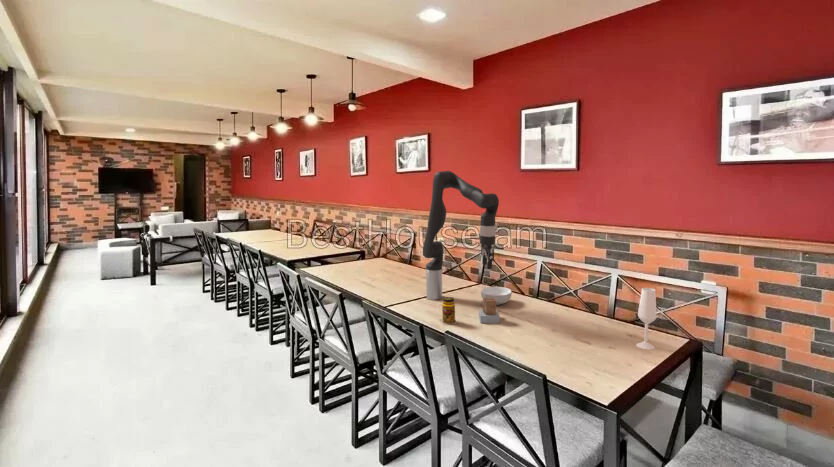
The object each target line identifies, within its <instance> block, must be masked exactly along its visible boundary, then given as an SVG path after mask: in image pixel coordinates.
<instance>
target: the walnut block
mask: <svg viewBox="0 0 834 467" xmlns="http://www.w3.org/2000/svg"><path fill="white" fill-rule="evenodd" d="M482 310H483V313H484V314H485V315H495V314H496V310H497V305H496V300H495V299H494V298H482Z"/></svg>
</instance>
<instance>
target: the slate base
mask: <svg viewBox="0 0 834 467" xmlns="http://www.w3.org/2000/svg"><path fill="white" fill-rule="evenodd" d="M478 318H479V322H480V324H500V314H499V311H498V309H496V314H495V315H485V314H484V313H483V309H479V310H478Z"/></svg>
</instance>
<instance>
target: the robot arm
mask: <svg viewBox="0 0 834 467" xmlns="http://www.w3.org/2000/svg"><path fill="white" fill-rule="evenodd" d="M450 188H452V189H456V190H458V191H459V192H460V194H461V196H463V197H464V198H466V199H467V200H469V201H471V202H473V203H474V204H475V205H476V206H477V207H479V208H481V209H485V211H484V212H482V213H481V215H480V225H479V226H480V227H479V244H480V246H481V247H480V255H481V258H482V260H481V261H482V265H483V266H487V267H486V268H487V269H488V270H492V269H493V262H494V261H495V248H492V246H493V245H496V215H497V212H498V207H499V206H500V205H499V204H500V202H499V197H498V195H497V194H496V193H491V192H490V193H484V192H483V190H482V189H481V188H479V187H477V186H475V185H472V184H471V183H469V182H467V181H465V180H464V179H462V178H461V177H460V176H458V175H456V173H454V172H453V171H451V170H444V171H443V170H442V171H437V172H435V174H434V175H433V180H432V194H431V202H430V208H429V209H430V210H429V214H428V220H427V222H428V223H427V229H426V233H425V236H424V237H425V238H424V242H423V245H422V255H423V257H424V258H425V259H432V260H430V262H428V263H426V265H425V274H426V275H425V277H426V278H425V279H426V281H425V282H426V299H427V300H432V301H436V300H437V301H438V300H441V299H443V263H444V247H443V244H442V242H441V241H439V240H436V241H435V238H436V237H437V235H438V233H439V232H440V231H441V229H442V228H443V226H444V225H445V223H446V218H447V208H446V206H445V202H444V200H443V197H444V196H443V195H444V190H446V189H450Z"/></svg>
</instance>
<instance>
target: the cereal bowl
mask: <svg viewBox="0 0 834 467" xmlns="http://www.w3.org/2000/svg"><path fill="white" fill-rule="evenodd" d="M480 296H481V298H482V299H483V298H494V299H495V300H496V306H499V305H500V304H501V305H503V304H505V303H507V302H509V301H510V300H511V297H512V290H511V289H510V288H508V287H505V286H504V287H503V286H486V287H482V289H481V290H480ZM501 305H500V306H501Z"/></svg>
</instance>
